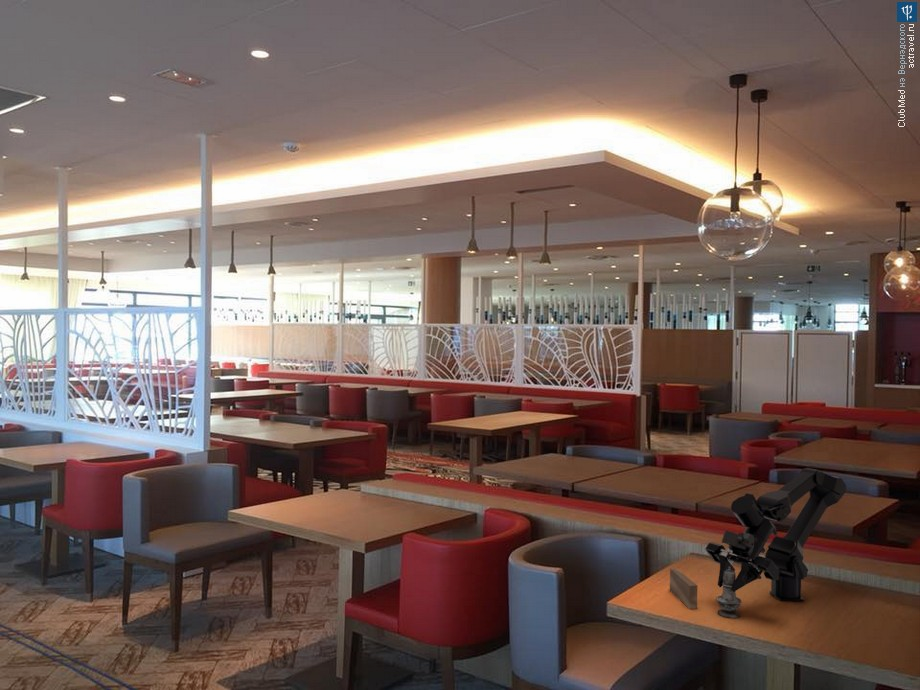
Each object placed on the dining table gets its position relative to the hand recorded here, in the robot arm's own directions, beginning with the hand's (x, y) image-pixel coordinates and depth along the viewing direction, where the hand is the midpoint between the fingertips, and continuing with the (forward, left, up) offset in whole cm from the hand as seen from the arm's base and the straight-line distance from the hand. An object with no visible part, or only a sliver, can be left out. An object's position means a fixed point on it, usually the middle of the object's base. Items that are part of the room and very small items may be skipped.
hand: (725, 588), depth 194 cm
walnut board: (+6, -12, -7) cm, 15 cm away
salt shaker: (-1, -1, -7) cm, 7 cm away
